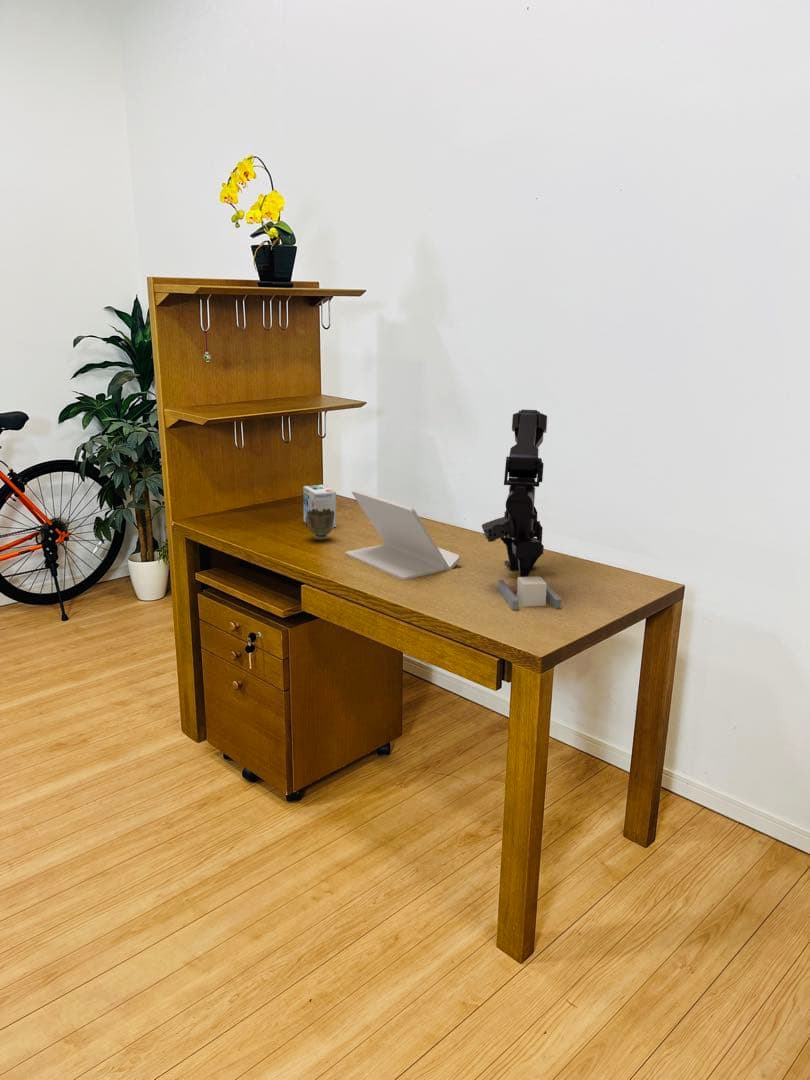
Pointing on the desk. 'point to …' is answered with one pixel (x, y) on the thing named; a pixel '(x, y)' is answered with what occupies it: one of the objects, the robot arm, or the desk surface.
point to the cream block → (531, 591)
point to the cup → (320, 523)
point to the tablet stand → (400, 541)
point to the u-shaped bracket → (513, 601)
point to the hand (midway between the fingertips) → (517, 573)
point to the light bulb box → (319, 500)
